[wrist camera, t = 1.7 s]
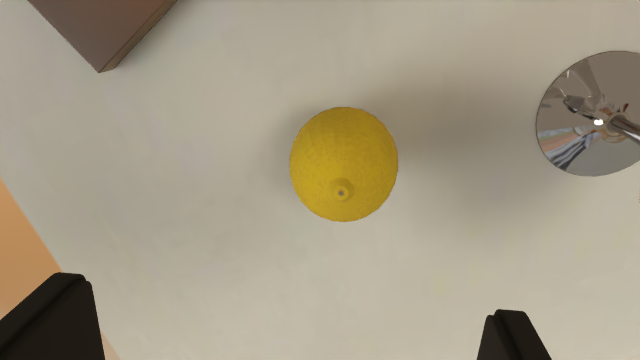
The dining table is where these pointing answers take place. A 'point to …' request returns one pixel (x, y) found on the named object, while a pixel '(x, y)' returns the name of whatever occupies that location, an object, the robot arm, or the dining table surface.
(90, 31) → the cutting board
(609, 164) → the wine glass
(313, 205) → the lemon
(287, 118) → the dining table surface
